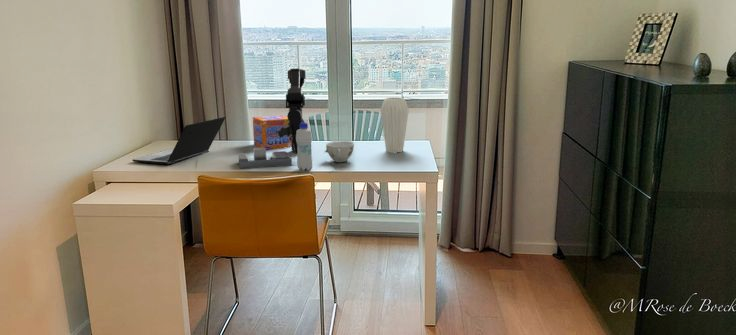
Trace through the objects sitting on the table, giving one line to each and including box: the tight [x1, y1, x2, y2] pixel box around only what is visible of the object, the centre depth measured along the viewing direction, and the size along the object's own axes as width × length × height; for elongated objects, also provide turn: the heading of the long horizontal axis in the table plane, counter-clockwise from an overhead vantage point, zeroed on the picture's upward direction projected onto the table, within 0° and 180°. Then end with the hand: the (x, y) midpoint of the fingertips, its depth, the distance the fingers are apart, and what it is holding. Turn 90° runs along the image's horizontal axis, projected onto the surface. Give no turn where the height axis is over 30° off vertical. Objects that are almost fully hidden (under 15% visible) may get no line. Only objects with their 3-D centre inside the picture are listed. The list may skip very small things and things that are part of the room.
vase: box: [380, 96, 409, 154], centre depth 259 cm, size 13×13×26 cm
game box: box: [252, 115, 291, 151], centre depth 276 cm, size 16×16×16 cm
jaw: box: [271, 150, 289, 159], centre depth 240 cm, size 6×11×4 cm, turn 16°
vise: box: [237, 153, 293, 169], centre depth 238 cm, size 23×14×4 cm, turn 106°
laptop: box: [132, 116, 226, 165], centre depth 252 cm, size 30×32×18 cm
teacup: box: [325, 141, 355, 163], centre depth 241 cm, size 15×12×8 cm
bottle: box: [296, 122, 313, 172], centre depth 224 cm, size 7×7×20 cm
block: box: [252, 147, 267, 161], centre depth 238 cm, size 5×4×7 cm
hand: (297, 154), depth 242 cm, fingers closed
